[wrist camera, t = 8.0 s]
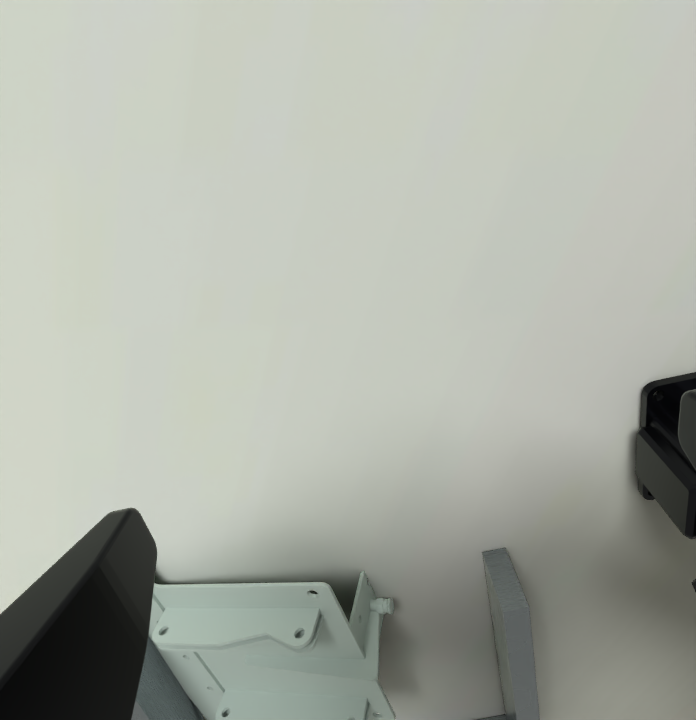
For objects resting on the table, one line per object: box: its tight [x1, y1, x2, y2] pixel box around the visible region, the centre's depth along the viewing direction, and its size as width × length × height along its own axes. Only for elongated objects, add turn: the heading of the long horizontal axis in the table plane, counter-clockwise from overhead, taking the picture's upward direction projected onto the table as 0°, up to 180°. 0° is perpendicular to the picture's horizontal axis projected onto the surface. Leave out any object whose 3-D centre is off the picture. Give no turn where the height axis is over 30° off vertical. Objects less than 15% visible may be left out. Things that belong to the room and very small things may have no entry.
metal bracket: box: [149, 571, 396, 720], centre depth 30 cm, size 14×6×15 cm
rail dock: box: [131, 548, 540, 720], centre depth 31 cm, size 20×16×4 cm
